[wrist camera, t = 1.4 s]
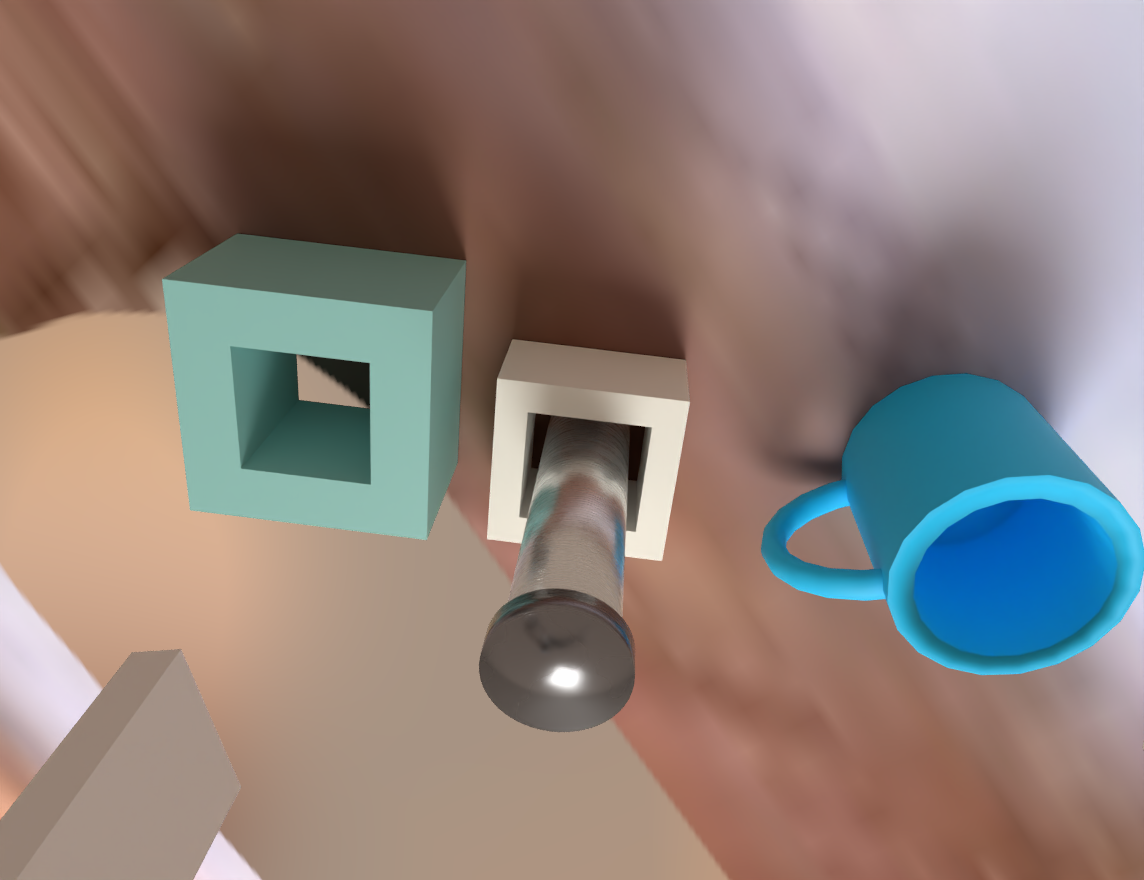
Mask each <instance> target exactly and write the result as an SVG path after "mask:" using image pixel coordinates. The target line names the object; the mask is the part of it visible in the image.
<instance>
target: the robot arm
mask: <svg viewBox="0 0 1144 880" xmlns="http://www.w3.org/2000/svg"><path fill="white" fill-rule="evenodd" d="M1143 749H1144V743H1143ZM240 788H241V786H240V783H239V781H238V779H237V777H236V774H235V772H234V770H233V767H232V765H231V763H230V760H229V758H228V756H227V754H226V751H225V749H224V747H223V744H222V742H221V740H220V738H219V735H218V733H217V731H216V728H215V727H214V724H213V721H212V719H211V717H210V715H209V712H208V710H207V708H206V705H205V703H204V701H203V699H202V696H201V694H200V692H199V689H198V687H197V685H196V683H195V680H194V678H193V676H192V673H191V671H190V669H189V666H188V664H187V662H186V660H185V657H184V655H183V653H182V651H181V649H177V650H164V651H163V650H162V651H148V652H134V653H133V652H132V653H131V654H130V656H129V657H128V658H127V659H126V661H125V662H124V663H123V665H122V666H121V667H120V668H119V670H118V671H117V672H116V673H115V675H114V676H113V677H112V679H111V680H110V681H109V682H108V684H107V685H106V686H105V687H104V689H103V690H102V691H101V692H100V694H99V695H98V696H97V698H96V699H95V700H94V701H93V703H92V704H91V705H90V706H89V708H88V709H87V710H86V712H85V713H84V714H83V715H82V717H81V718H80V719H79V720H78V722H77V723H76V724H75V726H74V727H73V728H72V729H71V731H70V732H69V733H68V734H67V736H66V737H65V738H64V740H63V741H62V742H61V743H60V745H59V746H58V747H57V748H56V750H55V751H54V752H53V754H52V755H51V756H50V757H49V759H48V760H47V761H46V762H45V764H44V765H43V766H42V768H41V769H40V770H39V771H38V773H37V774H36V775H35V777H34V778H33V779H32V780H31V782H30V783H29V784H28V785H27V787H26V788H25V789H24V791H23V792H22V793H21V794H20V796H19V797H18V798H17V799H16V801H15V802H14V803H13V805H12V806H11V807H10V808H9V810H8V811H7V812H6V813H5V815H4V816H3V817H2V819H1V820H0V880H193V879H194V877H195V875H196V873H197V871H198V870H199V868H200V866H201V864H202V862H203V860H204V858H205V856H206V854H207V852H208V850H209V848H210V846H211V844H212V842H213V840H214V839H215V837H216V835H217V833H218V831H219V829H220V827H221V825H222V823H223V821H224V819H225V817H226V815H227V813H228V811H229V809H230V807H231V805H232V804H233V802H234V800H235V798H236V796H237V794H238V791H239V790H240Z"/></svg>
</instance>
